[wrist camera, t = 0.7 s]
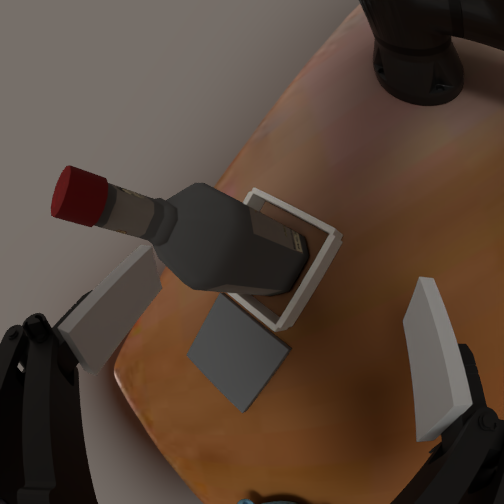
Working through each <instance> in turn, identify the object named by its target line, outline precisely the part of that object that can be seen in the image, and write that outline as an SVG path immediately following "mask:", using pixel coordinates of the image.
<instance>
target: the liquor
mask: <svg viewBox="0 0 504 504" xmlns="http://www.w3.org/2000/svg"><path fill="white" fill-rule="evenodd" d="M51 216H53V217H55V218H59V219H63V220H66V221H70V222H74V223H77V224H81V225H85V226H88V227H92V226H93V225H95V226H98V227H101V228H105V229H109V230H113V231H116V232H120V233H123V234H127V235H131V236H135V237H139V238H142V239H145V240H148V241H149V242H151V243H152V244H153V246H154V249H155V251H156V253H157V255H158V257H159V259H160V260H161V261H162V262H163V263H164V264H165V265H166V266H167V267H168V268H169V269H170V270H171V271H172V272H173V273H174V274H175V275H176V276H177V277H178V278H179V279H180V280H181V281H182V282H183V283H184V284H186V285H187V286H189V287H190V288H192V289H194V290H204V291H215V292H227V293H239V294H251V295H265V296H273V295H277V294H281V293H285V292H288V291H290V289H291V287H292V285H293V284H294V282H295V280H296V279H297V277H298V275H299V273H300V272H301V270H302V268H303V266H304V264H305V263H306V261H307V259H308V257H309V254H308V250H307V246H306V241H305V237H304V236H302V235H300V234H298V233H297V232H295V231H293V230H291V229H289V228H288V227H286V226H284V225H282V224H280V223H279V222H277V221H275V220H273V219H271V218H270V217H268V216H266V215H264V214H262V213H260V212H259V211H257V210H255V209H253V208H251V207H249V206H247V205H246V204H244V203H242V202H240V201H238V200H236V199H234V198H232V197H230V196H228V195H226V194H225V193H223V192H221V191H219V190H217V189H215V188H213V187H211V186H209V185H207V184H205V183H194V184H193V185H191V186H189V187H187V188H186V189H184V190H182V191H181V192H179V193H177V194H176V195H174V196H172V197H171V198H169V199H167V200H166V201H165V200H163V199H161V198H157V199H153V198H150V197H147V196H144V195H141V194H138V193H135V192H132V191H130V190H127V189H124V188H121V187H118V186H115V185H113V184H110V183H108V182H107V179H106V178H104V177H101V176H98V175H95V174H93V173H90V172H87V171H84V170H82V169H79V168H76V167H73V166H66V167H65V169H64V170H63V172H62V173H61V175H60V177H59V180H58V182H57V184H56V187H55V191H54V194H53V198H52V204H51Z"/></svg>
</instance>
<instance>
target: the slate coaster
mask: <svg viewBox="0 0 504 504" xmlns="http://www.w3.org/2000/svg"><path fill="white" fill-rule="evenodd" d="M291 349H292V348H290V347H289V346H288V345H287V344H285V343H284V342H283V341H282V340H280V339H279V338H278V337H277V336H275V335H274V334H273V333H272V332H270V331H269V330H268V329H267V328H266V327H264V326H263V325H262V324H261V323H259V322H258V321H257V320H256V319H255V318H253V317H252V316H251V315H250V314H249V313H247V312H246V311H245V310H244V309H243V308H241V307H240V306H239V305H238V304H237V303H235V302H234V301H233V300H232V299H231V298H230V297H228V296H227V295H226V294H225V293H220V294H219V295H218V297H217V299H216V301H215V303H214V305H213V307H212V308H211V310H210V312H209V314H208V316H207V318H206V320H205V321H204V323H203V325H202V327H201V329H200V331H199V333H198V334H197V336H196V338H195V340H194V342H193V344H192V346H191V347H190V349H189V351H188V353H187V356H188V357H189V359H190V360H191V361H192V362H193V363H194V364H195V365H196V366H197V367H198V368H199V370H200V371H201V372H202V373H203V374H204V375H205V376H206V377H207V378H208V379H209V380H210V381H211V382H212V383H213V384H214V385H215V386H216V387H217V388H218V390H219V391H220V392H221V393H222V394H223V395H224V396H225V397H226V398H227V399H228V400H229V401H230V402H231V403H233V404H234V405H235V406H236V407H237V408H238V409H239V410H240V411H241V412H242V413H244V412H246V411H247V410H248V408H249V407H250V406H251V404H252V403H253V402H254V401H255V399H256V398H257V397H258V395H259V394H260V393H261V391H262V390H263V389H264V387H265V386H266V385H267V383H268V382H269V380H270V379H271V378H272V376H273V375H274V374H275V372H276V371H277V369H278V368H279V367H280V365H281V364H282V362H283V361H284V359H285V358H286V357H287V355H288V354H289V352H290V351H291Z"/></svg>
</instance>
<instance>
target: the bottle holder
mask: <svg viewBox="0 0 504 504" xmlns="http://www.w3.org/2000/svg"><path fill="white" fill-rule="evenodd" d="M265 201H267V202H269V203H271V204H273V205H275V206H277V207H279V208H281V209H283V210H284V211H286V212H288V213H290V214H292V215H294V216H296V217H298V218H300V219H302V220H303V221H305V222H307V223H309V224H311V225H313V226H315V227H316V228H318V229H320V230H322V231H324V232H326V233H327V234H329V236H328V237H327V239H326V241H325V243H324V244H323V246H322V248H321V250H320V252H319V253H318V255H317V257H316V259H315V260H314V262H313V264H312V266H311V267H310V269H309V271H308V272H307V274H306V276H305V278H304V279H303V281H302V283H301V284H300V286H299V288H298V289H297V291H296V293H295V294H294V296H293V298H292V299H291V301H290V303H289V304H288V306H287V307H286V309H285V311H284V312H283V314H282V316H281V317H279V316H278V315H276V314H275V313H274V312H272V311H271V310H270V309H268V308H267V307H266V306H265V305H263V304H262V303H261V302H259V301H258V300H257V299H256V298H254V297H253V296H252V295H251V294H239V293H228V294H229V295H231V296H232V297H233V298H234V299H235V300H237V301H238V302H239V303H240V304H241V305H243V306H244V307H245V308H246V309H247V310H249V311H250V312H251V313H252V314H253V315H255V316H256V317H257V318H258V319H259V320H261V321H262V322H263V323H264V324H266V325H267V326H268V327H269V328H271V329H272V330H273V331H274V332H277V331H283V330H287V329H288V327H292V326H293V325H294V323H295V322H296V320H297V318H298V317H299V315H300V314H301V312H302V310H303V309H304V307H305V306H306V304H307V302H308V301H309V299H310V298H311V296H312V294H313V293H314V291H315V289H316V288H317V286H318V284H319V283H320V281H321V279H322V278H323V276H324V274H325V272H326V271H327V269H328V267H329V266H330V264H331V262H332V260H333V259H334V257H335V255H336V253H337V251H338V250H339V248H340V246H341V244H342V243H343V242H342V241H341V238H342V236H343V235H342V234H341V233H340V232H339V231H338V230H337V229H335V228H334V227H332V226H330V225H328V224H326V223H324V222H322V221H320V220H318V219H317V218H315V217H313V216H311V215H309V214H307V213H305V212H303V211H301V210H299V209H297V208H295V207H293V206H291V205H289V204H287V203H285V202H283V201H281V200H279V199H277V198H275V197H273V196H271V195H269V194H267V193H265V192H263V191H261V190H259V189H257V188H253V190H252V192H250V191H249V193H248V194H247V196H246V198H245V200H244V202H243V203H244V204H246V205H247V206H249V207H251V208H253V209H255V210H257V211H259V212H260V210H261V208H262V206H263V204H264V203H265Z"/></svg>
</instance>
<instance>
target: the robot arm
mask: <svg viewBox="0 0 504 504" xmlns="http://www.w3.org/2000/svg"><path fill="white" fill-rule="evenodd" d="M359 1H360V4H361V6H362V8H363V10H364V12H365V15H366V17H367V20H368V22H369V24H370V27H371V29H372V32H373V34H374V37H375V41H374V54H373V65H374V69H375V72H376V75H377V78H378V80H379V82H380V84H381V85H382V86H383V87H384V88H385V89H386V90H387V91H388V92H389V93H390V94H392V95H393V96H395V97H397V98H399V99H401V100H403V101H406V102H409V103H413V104H418V105H439V104H443V103H446V102H449V101H451V100H452V99H454V98H455V97H456V96H457V95H458V94H459V93H460V92H461V90H462V87H463V81H464V71H463V66H462V63H461V61H460V58H459V56H458V53H457V51H456V49H455V47H454V45H453V42H452V40H451V36H455V37H459V38H464V39H467V40H471V41H475V42H478V43H482V44H485V45H488V46H491V47H494V48H497V49H500V50H503V51H504V0H359ZM161 289H162V286H161V282H160V278H159V274H158V270H157V266H156V262H155V257H154V253H153V248H152V246H145V245H140V246H139V247H138V248H136V249H135V250H134V251H133V252H132V253H131V254H130V255H129V256H128V257H127V258H126V259H125V260H124V261H122V262H121V263H120V264H119V265H118V266H117V267H116V268H115V269H114V270H113V271H112V272H111V273H110V274H109V275H108V276H107V277H106V278H105V279H104V280H103V281H102V282H101V283H100V284H99V285H98V286H97V287H96V288H95V289H94V290H91V291H90V292H88V293H86V294H85V295H83V296H82V297H81V298H80V299H79V300H78V301H77V303H76V304H74V305H73V306H72V307H71V309H70V310H69V311H68V312H67V313H66V314H65V315H64V316H63V317H62V318H61V319H60V320H59V321H58V322H57V323H56V324H55V326H54V327H53V328H51V326H50V325H49V323H48V321H47V320H46V317H45V316H44V315H43V314H41V313H36V314H33V315H31V316H30V317H28V318H27V319H26V320H25V321H24V323H23V325H22V326H21V325H14V326H12V327H10V328H9V329H8V330H7V332H6V333H5V335H4V337H3V339H2V342H1V343H0V504H98V502H97V499H96V495H95V492H94V488H93V483H92V479H91V474H90V470H89V465H88V459H87V455H86V448H85V442H84V435H83V427H82V418H81V408H80V395H79V373H78V369H77V367H76V366H77V364H78V363H80V364H81V366H82V367H83V369H84V370H85V371H87V372H89V373H91V374H93V375H95V376H97V374H98V373H99V371H100V370H101V369H102V367H103V366H104V364H105V363H106V362H107V360H108V359H109V357H110V356H111V355H112V353H113V352H114V351H115V349H116V348H117V347H118V345H119V344H120V343H121V341H122V340H123V338H124V337H125V336H126V334H127V333H128V332H129V331H130V329H131V328H132V327H133V325H134V324H135V323H136V321H137V320H138V319H139V317H140V316H141V315H142V313H143V312H144V311H145V310H146V308H147V307H148V306H149V304H150V303H151V302H152V301H153V299H154V298H155V297H156V296H157V294H158V293H159V292H160V290H161ZM403 325H404V331H405V336H406V342H407V348H408V354H409V361H410V368H411V376H412V384H413V394H414V405H415V419H416V441H417V442H421V441H432V440H435V439H436V438H437V437H438V436H439V435H440V434H441V437H442V442H440V443H439V444H438V445H437V446H435V447H434V448H433V449H432V450H431V451H430V452H429V453H430V454H431V453H432V452H433V451H434V452H433V453H432V454H431V456H430V457H429V458H428V460H427V461H426V462H425V464H424V465H423V466H422V468H421V469H420V470H419V471H418V473H417V474H416V475H415V476H414V478H413V479H412V480H411V481H410V482H409V484H408V485H407V486H406V487H405V488H404V489H403V490H402V492H401V493H400V494H399V495H398V496H397V497H396V498H395V499H394V500H393V501H392V502H391V503H390V504H504V420H500V419H499V418H498V416H497V414H496V413H495V411H494V410H493V409H491V408H489V407H487V405H486V401H485V397H484V393H483V388H482V384H481V381H480V377H479V375H478V370H477V366H475V365H476V363H475V359H474V356H473V353H472V352H471V350H470V349H469V348H468V346H467V345H466V344H457V341H456V338H455V335H454V332H453V329H452V326H451V323H450V320H449V317H448V314H447V311H446V309H445V306H444V303H443V301H442V298H441V296H440V293H439V291H438V288H437V286H436V283H435V281H434V279H433V278H426V277H419V279H418V282H417V285H416V288H415V290H414V293H413V296H412V299H411V301H410V304H409V306H408V309H407V312H406V314H405V317H404V319H403ZM18 363H20V364H21V365H22V366H23V368H24V369H23V371H22V372H21V371H20V370H19V369H18V367H17V366H18Z"/></svg>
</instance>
